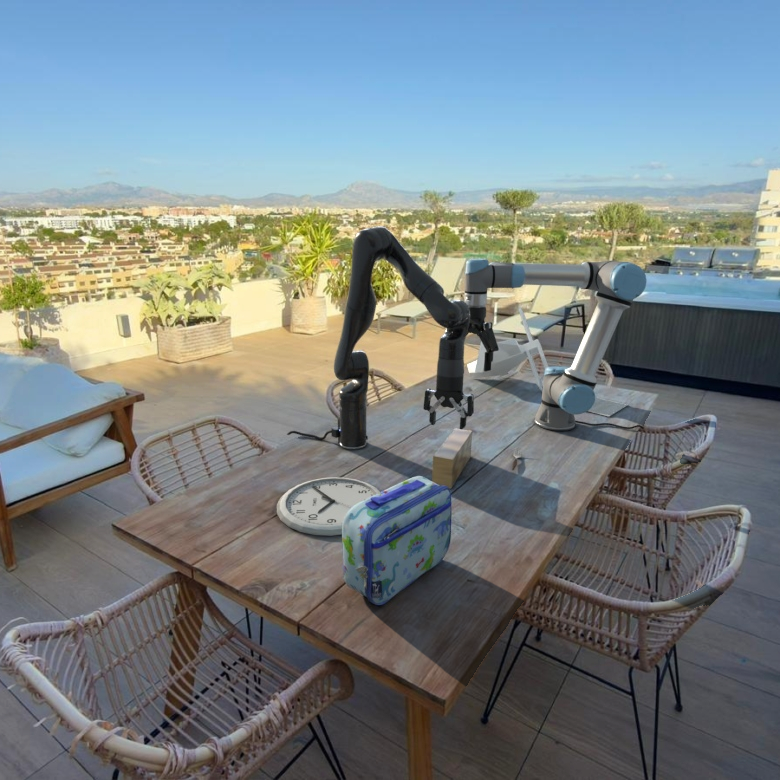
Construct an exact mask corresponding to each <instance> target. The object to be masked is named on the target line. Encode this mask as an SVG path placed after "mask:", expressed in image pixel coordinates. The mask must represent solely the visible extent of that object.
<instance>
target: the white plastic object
mask: <svg viewBox="0 0 780 780" xmlns="http://www.w3.org/2000/svg"><path fill="white" fill-rule="evenodd" d="M518 312H519V313H518V314H519V316H520V318H521V322H522V324H523V328H524V331H525V334H526V338H527V339H528V342H526V343H523V344H519V342H518V341H517V338H510V339H506V340H505V339H504V340H500V341H496V342H497V345H498V348H499V350H498V351H495V352H494V353H493V361H492V362H491V370H490V371H486V372H485V371H484V360H485V352H487V351H486V349H485V347H484V345H483V343H482V341H481V340H480V344H479V349H478V353H477V358H476V360H474V361H472V362H470V363H467V364H466V366H467V369H468V373H469V375H470V377H471V378H472V379H479V378H480V379H481V378H489V377H497V376H498V377H500V378H501V377H504V376H507V375H509V372H510V371H512V370H513V369H515V367H517V366H519V365H520V364H521V363H523V362H524V361H526V360H527V359H528V362H529V365H530V368H531V372H532V374H533V378H534V381H535V384H536V386H537V388H539V390H540V391H541V392H542V391H543V383H542V382H541V379H540V375H539V372H538V369H537V366H536V364H535V363H536V362H535V361H534V357H533V356H534V355H536V354H539V357H540V359H541V363H542V366H543V368H544V370H545V369H546V368H548V367H549V363H548V361H547V359H546V356H545V352H544V350H543V347H542V344H541V342H540V339H538V338H536V339H533V335H532V334H531V330H530V326H529V323H528V320H527V318H526V316H525V312H524V311H523V309H522V308H521V307H519V308H518ZM489 349H490V348H489Z"/></svg>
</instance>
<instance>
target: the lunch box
mask: <svg viewBox="0 0 780 780" xmlns="http://www.w3.org/2000/svg"><path fill="white" fill-rule="evenodd" d="M452 511H453V510H452V491H451V489H449V488H448V487H447V486H444V485H441V486H440V485H438V484H436V483H434V482H432V480H430V479H428V478H427V477H425V476H422V475H416V476H413V477H411V478H408V479H406V480H403V481H401V482H399V483H397V484H395V485H393V486H390V487H388V488H386V489H384V490H382V491H381V492H380V493H378V494H376V495H374V496H372V497H370V498H368V499H366V500H364V501H362V502H360V503H358V504H356V505H354V506H353V507H352V508H351V509H350V510H349V511H348V512H347V514H346V516H345V518H344V521H343V525H342V535H341V543H342V544H341V545H342V569H343V578H344V583H345V585H346V586H347V587H349V588H351V589H352V590H354V591H356V592H357V593H360V594H361V595H362V596H363V597H365V598H367V601H369V603H372V604H373V605H376V606H383V605H385V604H386V603H388V602H389V601H390V600H391V599H392V598H394V597H395V596H396V595H397V594H399V593H400V592H401V591H403V590H404V589H406V588H407V587H408V586H410V585H411V584H413V583H414V582H416V580H417V579H418V578H420V576H422V575H423V574H425V573H426V572H428V571H430V570H432V569H433V568H435V567H436V566H438V565H439V564H440V563H441V562H442V561H443V560H444V558H445V557H446V555H447V552H448V551H449V548H450V544H451V539H452V515H453V514H452Z"/></svg>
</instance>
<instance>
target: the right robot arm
mask: <svg viewBox="0 0 780 780" xmlns="http://www.w3.org/2000/svg"><path fill="white" fill-rule="evenodd" d="M489 262H490V261H489V259H488V258H469V259H467V260H466V262H465V270H464V271H465V272H464V300H463V301H464V302H465V303H466V304H467V305H468V307H469V310H470V322H469V327H468V331H467V335H466V337H467V336H468V335H469V334H473V335H476V336H477V337H478V338H479V339H480V342H481V341H482V343H483V345H484V347H485V349H486V351H487V352H485V360H484V371H485V372H486V371H490V370H491V362H492V361H493V353H494V352H495V351H498V350H499V348H498V345H497V342H498V341H497V338H496V336H495V333H494V329H493V322H492V321H489V322H486V320H485V319H486V317H487V307H486V306H487V304H488V289H519V288H522V287H523V286H524V285H525V286H551V287H552V286H554V287H555V286H556V287H557V286H558V287H579V289H581V290H588V291H594V292H596V294H595V298H596V301H597V304H596V306H595V308H594V311H593V314H592V316H591V318H590V320H589V323H588V325H587V328H586V330H585V333H584V335H583V337H582V339H581V341H580V344H579V347H578V348H577V351H576V354H575V356H574V358H573V361H572V364H571V366H548V368H546V369H545V368H544V373H543V381H542V382H543V383H542V387H543V390H542V391H541V392H542V394H541V402H540V405H539V407H538V410H537V411H536V413H535V417H534V424H535V425H536V426H537V427H539V428H542V429H544V430H549V431H556V432H567V431H572V430H574V429H575V428H576V423H577V424H582V425H585V426H592V427H596V426H597V427H598V426H612V427H615V428H619V429H624V430H633V429H635V428H640V429H641V430H642V429H643V430H645V427H644V426H642V425H640V424H636V425H633V426H622V425H618V424H616V423H610V422H602V423H589V422H585V421H579V420H576V418H575V417H576V416H577V415H582V414H584V413H588V410H589V409H590V408H591V407H592V406H593V404H594V402H595V397H596V393H595V389H596V385H597V383H598V380H597V378H596V374H597V372H598V369H599V367H600V365H601V362H602V361H603V358H604V356H605V353H606V351H607V349H608V347H609V344H610V342H611V340H612V337H613V335H614V333H615V330H616V328H617V326H618V324H619V321H620V319H621V317H622V314H623V312H624V311H625V310H627V309H630V308H631V305H632V303H633V302H634V300H635V299H637V298H638V297H640V296H641V295H642V294H643V293H644V291H645V290H646V286H647V276H646V273H645V271H644V269H643V268H642V267H641V266H640V265H638V264H635V263H632V262H629V261H619V260H603V261H584V262H582V263H581V264H571V263H570V264H569V263H568V264H565V263H563V264H562V263H534V262H532V263H530V262H529V263H528V262H500V261H493V262H492V261H491V262H490V263H489ZM489 348H490V349H489Z"/></svg>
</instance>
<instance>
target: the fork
mask: <svg viewBox="0 0 780 780" xmlns="http://www.w3.org/2000/svg"><path fill="white" fill-rule="evenodd" d="M522 455H523V450H521V449H519V448H517V447H515V448H514V452H513V457H514V460H513V462H512V471H514V470H515V468H516V466H517V464H518V459H519V458H522Z"/></svg>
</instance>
